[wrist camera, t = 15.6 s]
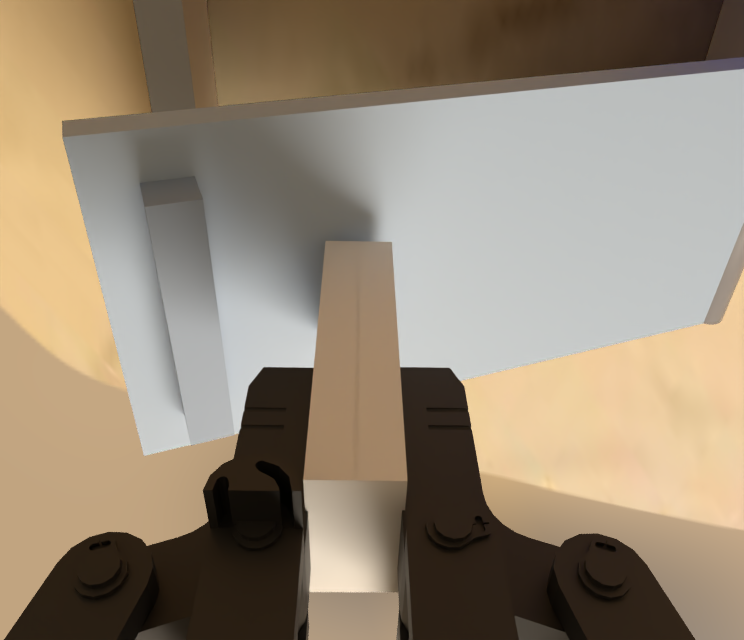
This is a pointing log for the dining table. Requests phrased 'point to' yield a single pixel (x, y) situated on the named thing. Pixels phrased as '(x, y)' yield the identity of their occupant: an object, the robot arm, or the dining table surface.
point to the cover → (411, 225)
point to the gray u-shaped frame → (195, 59)
